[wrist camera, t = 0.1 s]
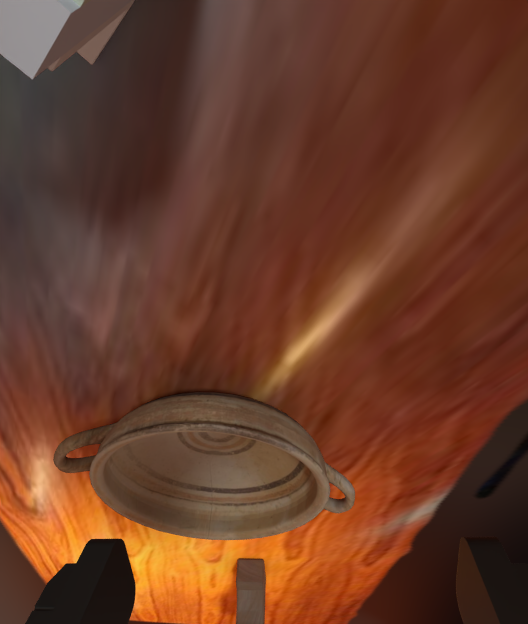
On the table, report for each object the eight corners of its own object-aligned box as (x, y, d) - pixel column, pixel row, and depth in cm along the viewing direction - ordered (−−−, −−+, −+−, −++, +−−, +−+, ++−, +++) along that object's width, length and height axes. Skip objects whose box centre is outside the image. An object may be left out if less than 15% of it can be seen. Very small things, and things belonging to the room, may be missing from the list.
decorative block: (237, 557, 97) (229, 678, 82) (265, 558, 97) (261, 679, 82) (240, 575, 104) (232, 689, 90) (265, 576, 104) (262, 690, 90)
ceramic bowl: (79, 453, 70) (55, 520, 62) (74, 322, 51) (39, 397, 43) (314, 489, 75) (317, 555, 68) (389, 384, 56) (405, 460, 49)
